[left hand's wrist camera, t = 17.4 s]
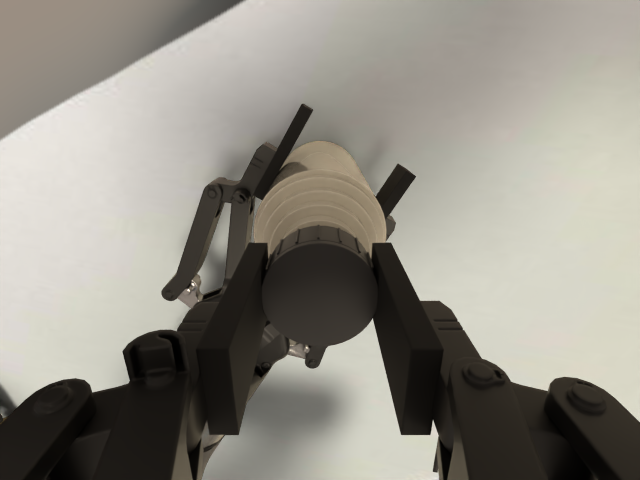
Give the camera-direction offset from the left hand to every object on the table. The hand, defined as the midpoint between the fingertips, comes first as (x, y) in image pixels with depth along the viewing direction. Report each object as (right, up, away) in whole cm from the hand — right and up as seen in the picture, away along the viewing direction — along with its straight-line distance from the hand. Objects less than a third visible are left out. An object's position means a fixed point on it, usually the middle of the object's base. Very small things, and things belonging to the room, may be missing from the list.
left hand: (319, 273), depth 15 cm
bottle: (0, +6, +16) cm, 18 cm away
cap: (0, -1, -1) cm, 2 cm away
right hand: (+2, +8, +9) cm, 12 cm away
